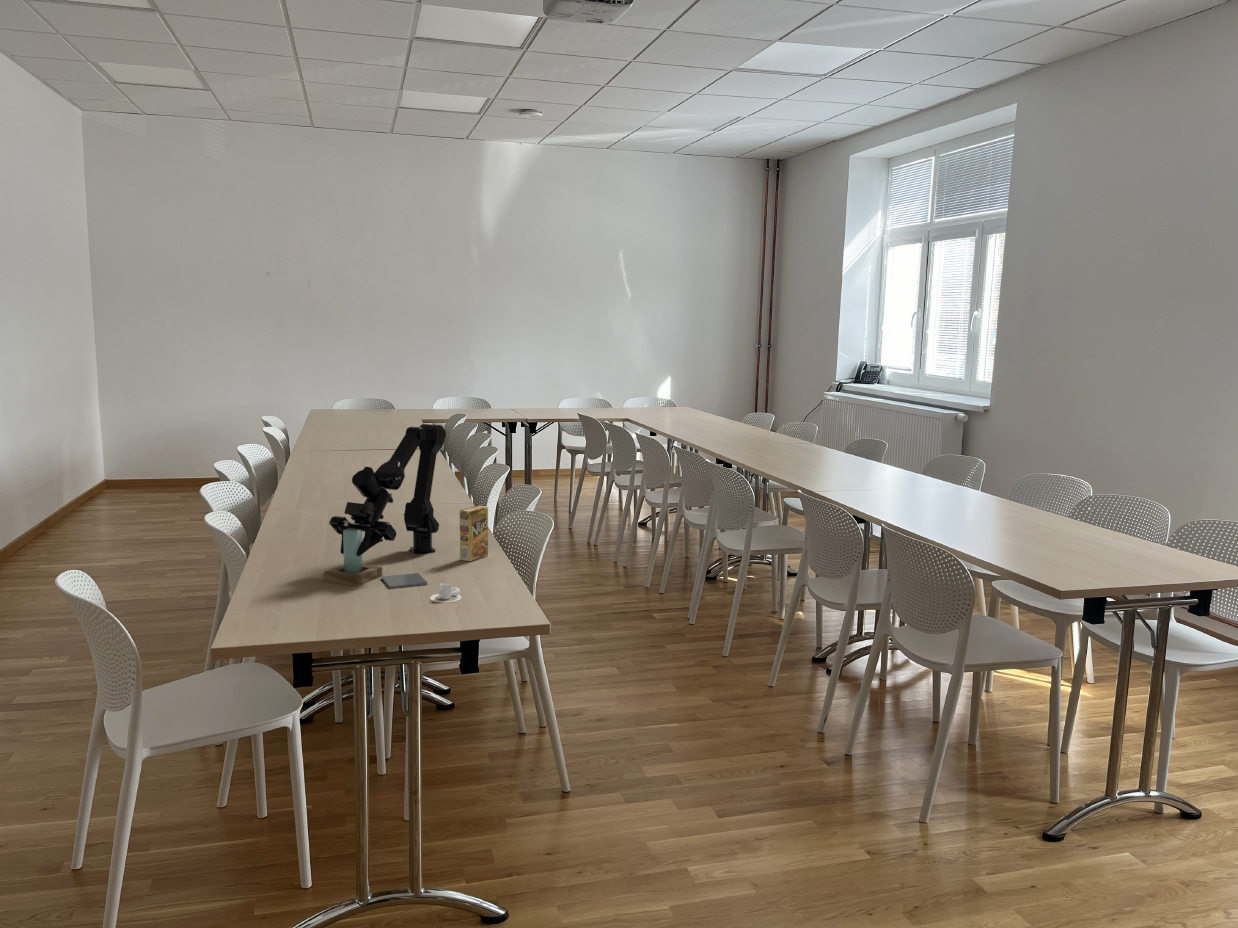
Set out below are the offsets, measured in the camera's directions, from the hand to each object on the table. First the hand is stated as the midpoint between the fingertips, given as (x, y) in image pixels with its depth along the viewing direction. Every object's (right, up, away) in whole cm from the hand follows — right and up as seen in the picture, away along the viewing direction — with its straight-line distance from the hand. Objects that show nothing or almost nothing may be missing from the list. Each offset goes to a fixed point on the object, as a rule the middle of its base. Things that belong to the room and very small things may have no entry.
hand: (349, 554), depth 234 cm
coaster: (+15, -8, +1) cm, 16 cm away
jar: (0, -7, +2) cm, 7 cm away
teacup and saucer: (+32, -11, -12) cm, 35 cm away
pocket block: (0, -7, +2) cm, 7 cm away
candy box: (+29, -4, +27) cm, 40 cm away
